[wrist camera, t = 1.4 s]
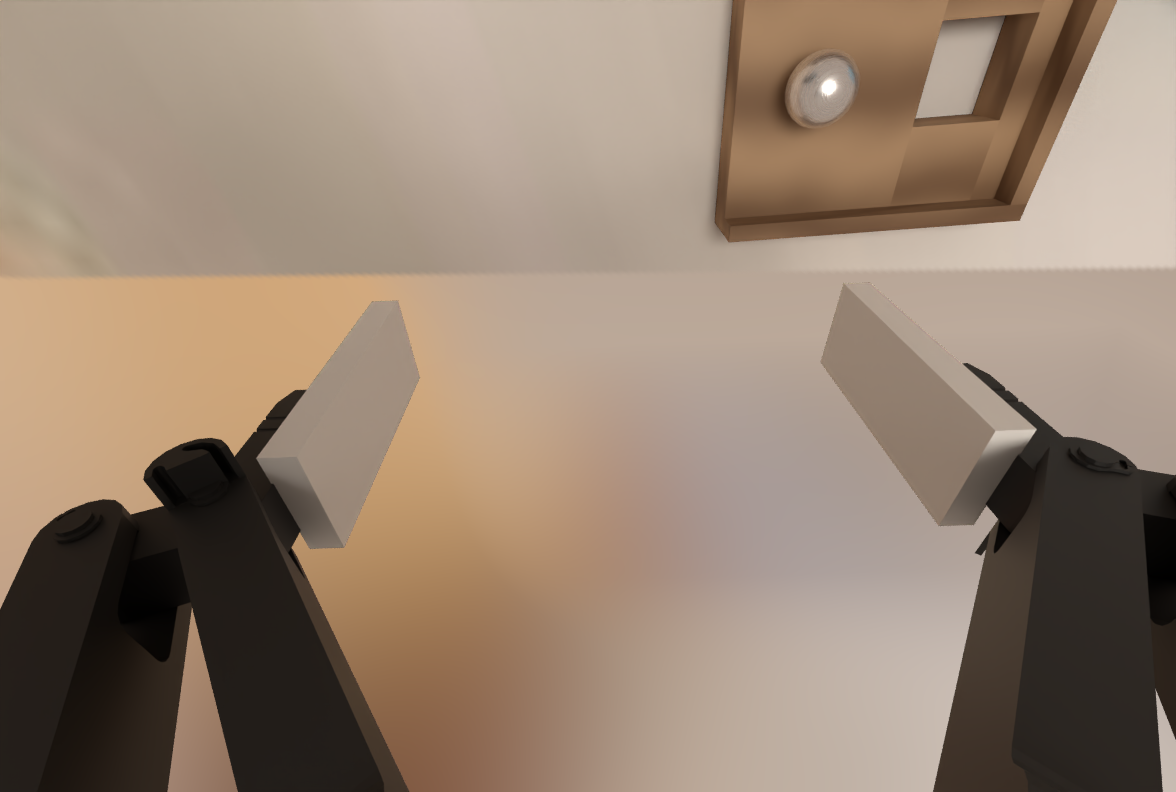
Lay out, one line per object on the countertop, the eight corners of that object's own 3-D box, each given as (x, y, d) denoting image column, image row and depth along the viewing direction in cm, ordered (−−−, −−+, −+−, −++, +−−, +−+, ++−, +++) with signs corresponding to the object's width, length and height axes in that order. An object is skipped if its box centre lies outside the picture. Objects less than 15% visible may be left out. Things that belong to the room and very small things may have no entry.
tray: (740, -98, 25) (764, -115, 22) (1106, -131, 25) (1185, -155, 22) (714, 222, 35) (728, 242, 32) (978, 202, 34) (1019, 220, 31)
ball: (781, 50, 27) (806, 53, 24) (849, 44, 27) (882, 46, 24) (771, 125, 29) (792, 136, 26) (833, 120, 29) (862, 130, 26)
